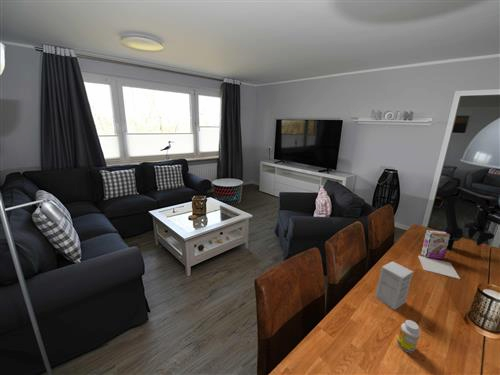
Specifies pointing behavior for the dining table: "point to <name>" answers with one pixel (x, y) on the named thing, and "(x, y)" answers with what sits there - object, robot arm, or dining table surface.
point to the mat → (438, 267)
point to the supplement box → (393, 284)
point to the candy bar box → (435, 244)
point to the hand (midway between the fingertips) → (473, 241)
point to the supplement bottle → (408, 336)
